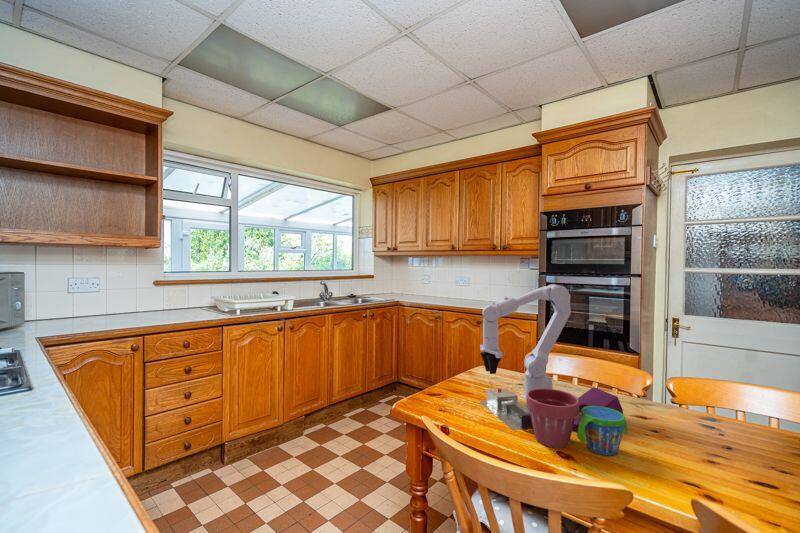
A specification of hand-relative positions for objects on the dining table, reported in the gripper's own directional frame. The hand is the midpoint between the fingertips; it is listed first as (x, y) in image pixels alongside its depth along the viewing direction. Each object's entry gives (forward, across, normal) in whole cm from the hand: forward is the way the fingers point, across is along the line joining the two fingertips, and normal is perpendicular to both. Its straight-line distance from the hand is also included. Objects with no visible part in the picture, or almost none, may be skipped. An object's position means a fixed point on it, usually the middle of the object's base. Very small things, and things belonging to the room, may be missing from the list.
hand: (490, 372), depth 141 cm
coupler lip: (+9, +16, 0) cm, 19 cm away
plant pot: (+10, +36, +1) cm, 37 cm away
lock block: (+9, +8, 0) cm, 12 cm away
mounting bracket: (+10, +29, +19) cm, 36 cm away
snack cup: (+10, +44, +11) cm, 46 cm away
